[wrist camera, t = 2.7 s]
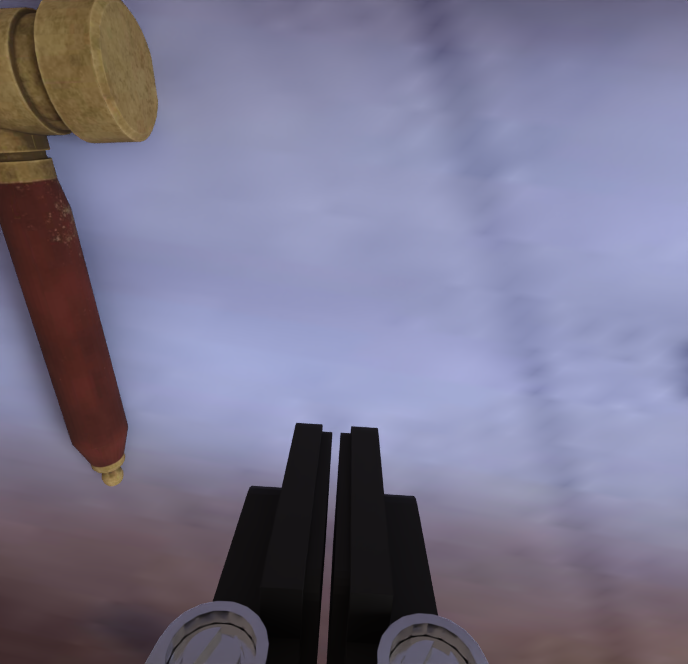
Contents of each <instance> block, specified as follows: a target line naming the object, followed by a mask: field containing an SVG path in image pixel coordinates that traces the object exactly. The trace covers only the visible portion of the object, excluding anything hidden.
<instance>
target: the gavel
mask: <svg viewBox="0 0 688 664" xmlns="http://www.w3.org/2000/svg"><path fill="white" fill-rule="evenodd" d="M157 109H158V99H157V92H156V85H155V79H154V72H153V65H152V58H151V55H150V51H149V48H148V45H147V42H146V40H145V38H144V35H143V33H142V30H141V29H140V27H139V25H138V23H137V21H136V19H135V18H134V17H133V15H132V14H131V12H130V11H129V9H128V8H127V7H126V5H125V4H124V3H123V2H122V1H121V0H42V1H41V3H40V5H39V7H38V9H37V10H35V9H33V8H26V7H25V8H2V9H0V225H1V228H2V231H3V234H4V237H5V240H6V243H7V246H8V249H9V252H10V255H11V258H12V261H13V264H14V267H15V271H16V274H17V277H18V280H19V283H20V286H21V289H22V292H23V295H24V298H25V301H26V304H27V307H28V310H29V313H30V316H31V319H32V323H33V326H34V329H35V332H36V335H37V338H38V341H39V344H40V347H41V350H42V353H43V356H44V359H45V362H46V365H47V368H48V371H49V375H50V378H51V381H52V384H53V387H54V390H55V393H56V396H57V399H58V402H59V405H60V408H61V411H62V414H63V417H64V420H65V423H66V427H67V430H68V433H69V436H70V439H71V442H72V444H73V446H74V447H75V448H76V449H77V450H78V451H79V452H80V453H81V454H82V455H83V456H84V457H85V458H86V459H87V460H88V462H89V463H90V464H91V466H92V469H93V470H94V471H96V472H98V473H102V480H103V482H104V483H105V484H106V485H108V486H115V485H117V484H119V483H120V482H121V481H122V479H123V470H122V468H121V467H120V466H121V465H122V464H123V462H124V460H125V454H124V449H125V443H126V436H127V430H128V424H127V420H126V416H125V413H124V409H123V405H122V401H121V397H120V394H119V390H118V386H117V382H116V378H115V374H114V371H113V367H112V363H111V359H110V355H109V352H108V348H107V344H106V340H105V336H104V332H103V329H102V325H101V321H100V317H99V313H98V310H97V306H96V302H95V298H94V294H93V290H92V287H91V283H90V279H89V275H88V271H87V268H86V264H85V260H84V256H83V252H82V248H81V245H80V241H79V237H78V233H77V229H76V226H75V222H74V218H73V214H72V210H71V207H70V205H69V203H68V201H67V199H66V196H65V194H64V192H63V190H62V188H61V185H60V183H59V181H58V179H57V176H56V172H55V168H54V165H53V161H52V158H47V155H46V151H45V150H50V147H49V143H48V139H47V135H66V134H70V133H71V132H73V133H74V134H75V135H76V136H78V137H79V138H80V139H82V140H84V141H86V142H89V143H115V142H141V141H144V140H146V139H147V138H148V137H149V136H150V134H151V132H152V130H153V127H154V124H155V121H156V117H157Z"/></svg>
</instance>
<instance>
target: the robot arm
mask: <svg viewBox="0 0 688 664" xmlns="http://www.w3.org/2000/svg"><path fill="white" fill-rule="evenodd" d="M322 427H323V426H322V424H306V423H296V425H295V430H294V434H293V439H292V443H291V448H290V452H289V457H288V462H287V466H286V471H285V475H284V480H283V484H282V488H278V487H262V486H251V487H250V488H249V491H248V493H247V496H246V499H245V502H244V506H243V509H242V512H241V515H240V518H239V521H238V524H237V527H236V530H235V534H234V537H233V540H232V543H231V546H230V549H229V552H228V555H227V559H226V562H225V565H224V568H223V571H222V574H221V577H220V580H219V583H218V587H217V590H216V593H215V596H214V599H213V602H210V603H205V604H201V605H199V606H197V607H194V608H192V609H190V610H188V611H186V612H184V613H183V614H182V615H181V616H179V617H178V618H177V619H176V620H175V621H173V622H172V623H171V624H170V625H169V627H168V628H167V629H166V630H165V632H164V633H163V634H162V636H161V637H160V638H159V640H158V642H157V644H156V645H155V647H154V649H153V651H152V652H151V654H150V656H149V658H148V659H147V661H146V663H145V664H317V653H318V640H319V626H320V612H321V599H322V585H323V571H324V558H325V543H326V527H327V511H328V495H329V479H330V462H331V446H332V432H322ZM327 664H488V662H487V659H486V658H485V656H484V654H483V652H482V651H481V649H480V647H479V645H478V644H477V642H476V641H475V640H474V639H473V638H472V637H471V636H470V635H469V634H468V633H467V632H466V631H465V630H464V629H463V628H461V627H460V626H458V625H457V624H455V623H453V622H452V621H450V620H448V619H445V618H442V617H440V616H438V613H437V608H436V602H435V597H434V592H433V586H432V581H431V576H430V570H429V565H428V559H427V554H426V549H425V543H424V538H423V533H422V527H421V522H420V517H419V511H418V506H417V502H416V498H415V497H414V496H404V495H389V494H384V488H383V478H382V467H381V456H380V445H379V434H378V428H369V427H353V426H351V433H341V436H340V450H339V465H338V480H337V494H336V509H335V524H334V538H333V555H332V574H331V592H330V611H329V630H328V649H327Z"/></svg>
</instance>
